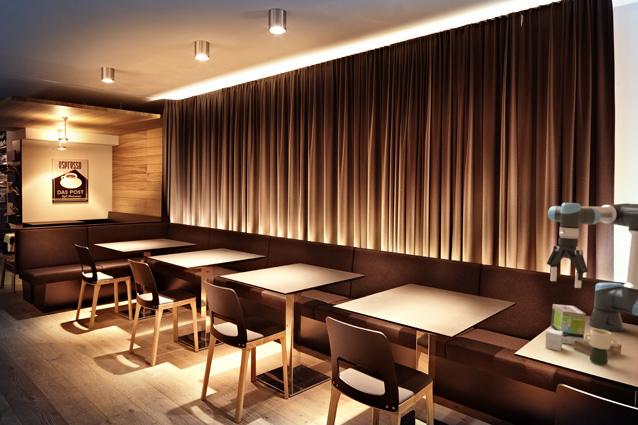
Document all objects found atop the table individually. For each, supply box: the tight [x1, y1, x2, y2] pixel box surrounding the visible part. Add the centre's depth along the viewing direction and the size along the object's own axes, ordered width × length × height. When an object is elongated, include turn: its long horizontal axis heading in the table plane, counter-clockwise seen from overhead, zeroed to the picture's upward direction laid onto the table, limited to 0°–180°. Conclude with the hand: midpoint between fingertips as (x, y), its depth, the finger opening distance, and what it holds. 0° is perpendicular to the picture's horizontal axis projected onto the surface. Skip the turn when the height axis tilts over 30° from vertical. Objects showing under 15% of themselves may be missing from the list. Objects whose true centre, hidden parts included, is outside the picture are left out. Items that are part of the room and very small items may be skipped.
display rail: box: [573, 340, 623, 357], centre depth 191 cm, size 16×10×4 cm, turn 113°
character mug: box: [584, 328, 618, 365], centre depth 177 cm, size 11×7×13 cm, turn 61°
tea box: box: [550, 303, 587, 345], centre depth 206 cm, size 15×10×15 cm, turn 168°
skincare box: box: [545, 328, 563, 352], centre depth 193 cm, size 6×6×7 cm
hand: (565, 284), depth 198 cm, fingers open, 13 cm apart
